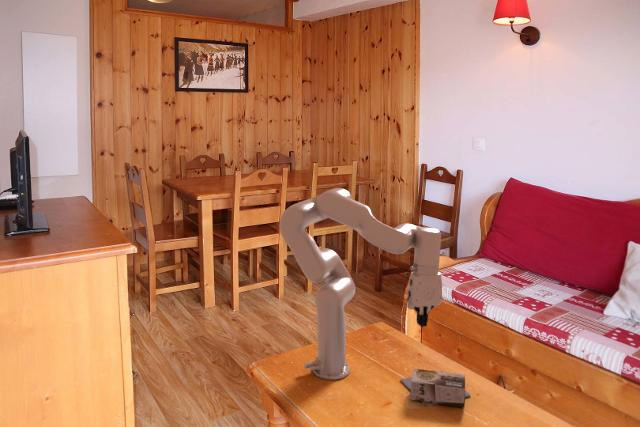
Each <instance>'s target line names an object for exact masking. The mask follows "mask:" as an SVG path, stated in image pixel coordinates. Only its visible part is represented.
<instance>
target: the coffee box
mask: <svg viewBox="0 0 640 427" xmlns="http://www.w3.org/2000/svg"><path fill="white" fill-rule="evenodd" d="M411 377H412V381H411V391H410V397H409V398H410V400H412V401H419V402H421V401H425V402H432V403H439V404H441V405H447V406H454V407H461V408H465V406H466V405H465V404H466V398H465V391H466V374H463V373H453V372H445V371H443V372H440V371H439V370H438V371H435V370H427V369H419V368H413V371H412V376H411ZM439 404H438V405H439Z"/></svg>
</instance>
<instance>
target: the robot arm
mask: <svg viewBox="0 0 640 427" xmlns="http://www.w3.org/2000/svg"><path fill="white" fill-rule="evenodd" d="M326 219H331V220H332V221H335V222H338V223H339V224H341V225H343V226H346V227H348V228H350V229H352V230H354V231H356V232H357V233H358V234H359V236H361V237H362V238H363V239H365V241H367V243H370V244H371V245H372V246H375V247H377V248H379V249H381V250H383V251H386V252H387V253H390V254H394V255H401V254H404V253H405V252H407V251H408V250H409V249H412V248H413V249H414V253H413V256H414V257H413V264H412V265H411V266H409V270H410V271H411V273H410V275H409V280H408V284H407V292H406V302H407V305H406V307H407V308H408V309H409V310H413V311H415V312H416V324H417V325H418V326H420V327H421V328H423V327H427V325H428V321H429V315H430V314H431V311H432V309H433V308H435V307H438V306H439V305H440V304H441V303H442V302H443V281H442V280H443V279H442V273H441V272H440V271H439V268H440V257H441V256H440V254H441V244H442V242H441V241H442V232H441V231H440V230H439V229H437V228H434V227H422V226H418V225H415V224H411V223H408V222H407V223H406V222H405V223H400V224H398V225H397V226H396V227H392V226H390V225H387V224H385V223H383V222H381V221H379V220H378V219H376V217H375V216H374V215H373V214H372V211H371V209H370V207H369V206H368V205H366V204H364V203H362V202H360V201H357V200H354V199H352V195H351V193H350V192H349V191H348V190H347V189H346V188H345V189H344V188H343V187H334V188H332V189H328V190H326V191H324V192H322V193H320V194H318V195H316V196H313V197H310V198H308V199H305V200H302V201H300V202H297V203H294V204H292V205H290V206H288V208H286V209H285V210H284V211H283V213H282V214H281V217H280V220H279V231H280V235H281V236H282V239H283V241H284V242H285V244H286V245H287V246H288V248H289V249H290V251H291V253H292V255H293V256H294V259H295V260H296V262H297V264H298V266H299V268H300V269H301V271H302V272H303V275H304V276H305V278H306V279H307V280H308V282H311V283H313V284H317V283H320V282H323V281H325V283H324V284H323V285H322V286H320V288H319V289H318V290H317V292H316V294H315V298H314V301H315V308H316V316H317V319H316V320H317V356H316V357H314V360H312V361H309V362H304V363H303V368H304V369H309V370H310V371H311V372H312V371H313V374H314V375H315V376H317V377H318V378H321V379H324V380H335V381H336V380H340V379H344V378H346V377H347V376H348V375H349V374H350V372H351V367H350V365H349V364H348V363H347V362H346V348H347V346H346V345H347V344H346V343H347V342H346V341H347V340H346V338H347V329H346V328H347V321H346V315H345V311H344V309H345V308H344V307H345V305H346V304H347V303H348V302H349V301H351V300H352V299H353V297H354V295H355V294H356V285H355V282H354V280H353V278H352V276H351V274H350V273H349V271H348V269H347V267H346V265H345V264H344V263H343V262H344V261H342V259H341V257H340V256H339V254H338V253H337V252H335V251H334V250H333V249H330V248H327V247H324V248H321V249H320V247H318V245H317V243H316V241H315V239H314V238H313V236H312V235H311V234H309V232H308V231H306V228H307V227H309V226H311V225H313V224H316V223H319V222H321V221H323V220H326Z"/></svg>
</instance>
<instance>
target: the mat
mask: <svg viewBox="0 0 640 427" xmlns="http://www.w3.org/2000/svg"><path fill="white" fill-rule="evenodd" d="M439 372H444V371H443V370H441V371H439ZM399 379H400V382H401V383H402V384H403V385H404V386H405V387H406V388H407V389H408V390H409V391H410V392H411V381H412V376H411V377H405V378H399ZM468 398H471V394H470V393H469V392H467V391H466V390H465V399H468ZM420 402H421V403H422V404H423V405H424V407H430V406H434V405H439V403H432V402H425V401H420Z"/></svg>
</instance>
